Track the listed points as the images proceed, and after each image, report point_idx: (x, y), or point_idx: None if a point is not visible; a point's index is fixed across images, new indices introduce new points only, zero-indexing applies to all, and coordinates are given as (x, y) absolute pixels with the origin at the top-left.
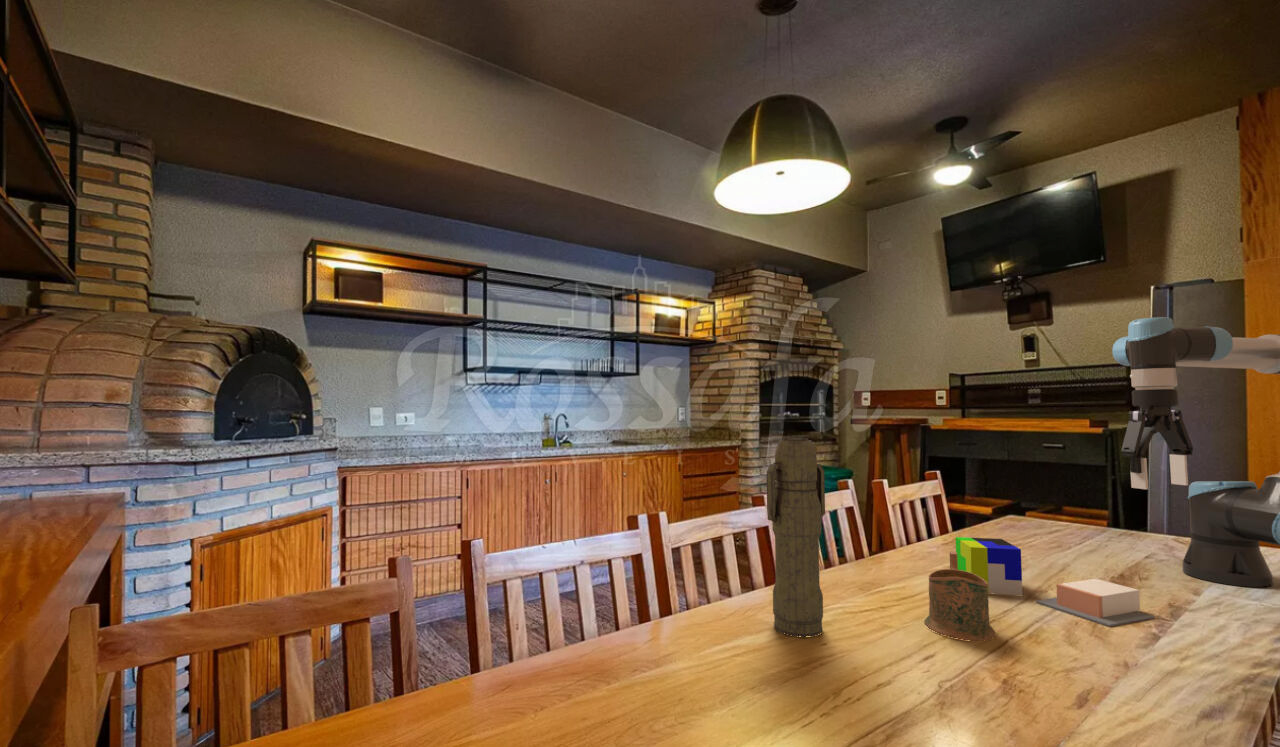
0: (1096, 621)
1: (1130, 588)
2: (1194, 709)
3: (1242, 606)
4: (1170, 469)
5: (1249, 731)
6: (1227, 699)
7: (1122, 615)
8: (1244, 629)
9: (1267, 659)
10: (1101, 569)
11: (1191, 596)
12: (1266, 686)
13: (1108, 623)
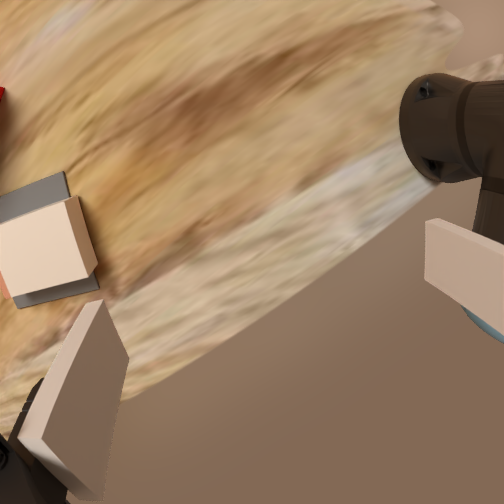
0: None
1: (80, 267)
2: (5, 429)
3: (309, 251)
4: (479, 243)
5: None
6: None
7: None
8: (194, 335)
9: (126, 399)
10: (282, 17)
11: (281, 193)
12: None
13: (18, 304)
